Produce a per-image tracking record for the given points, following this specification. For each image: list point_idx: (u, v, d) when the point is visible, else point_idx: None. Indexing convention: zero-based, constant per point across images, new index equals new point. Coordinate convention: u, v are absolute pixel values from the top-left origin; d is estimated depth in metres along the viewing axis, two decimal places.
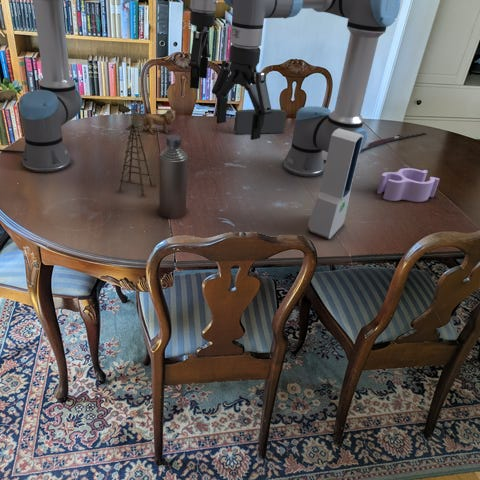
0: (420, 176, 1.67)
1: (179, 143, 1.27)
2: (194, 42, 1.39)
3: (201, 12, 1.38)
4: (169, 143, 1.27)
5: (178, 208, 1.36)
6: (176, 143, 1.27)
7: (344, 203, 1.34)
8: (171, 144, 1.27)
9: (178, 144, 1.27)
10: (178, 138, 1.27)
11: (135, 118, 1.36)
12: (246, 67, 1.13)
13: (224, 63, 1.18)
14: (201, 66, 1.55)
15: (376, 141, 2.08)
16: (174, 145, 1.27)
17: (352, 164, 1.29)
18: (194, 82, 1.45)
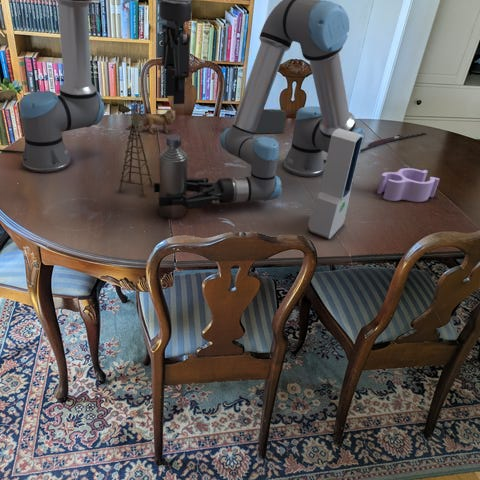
0: (420, 176, 1.67)
1: (179, 143, 1.27)
2: None
3: None
4: (169, 143, 1.27)
5: (178, 208, 1.36)
6: (176, 143, 1.27)
7: (344, 203, 1.34)
8: (171, 144, 1.27)
9: (178, 144, 1.27)
10: (178, 138, 1.27)
11: (135, 118, 1.36)
12: None
13: None
14: None
15: (376, 141, 2.08)
16: (174, 145, 1.27)
17: (352, 164, 1.29)
18: None
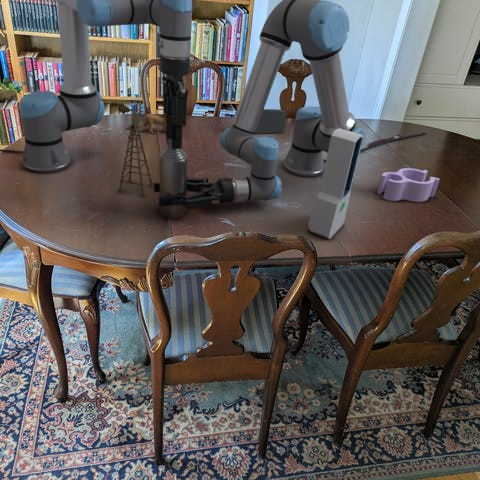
0: (420, 176, 1.67)
1: None
2: None
3: None
4: (169, 143, 1.27)
5: (178, 208, 1.36)
6: None
7: (344, 203, 1.34)
8: None
9: None
10: None
11: (135, 118, 1.36)
12: None
13: None
14: None
15: (376, 141, 2.08)
16: None
17: (352, 164, 1.29)
18: None
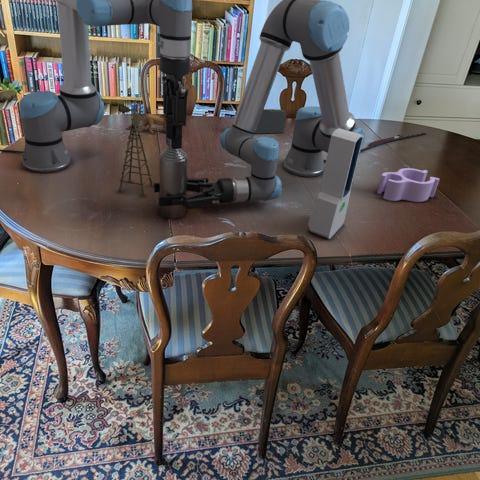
0: (420, 176, 1.67)
1: None
2: None
3: None
4: None
5: (178, 208, 1.36)
6: None
7: (344, 203, 1.34)
8: None
9: None
10: None
11: (135, 118, 1.36)
12: None
13: None
14: None
15: (376, 141, 2.08)
16: None
17: (352, 164, 1.29)
18: None
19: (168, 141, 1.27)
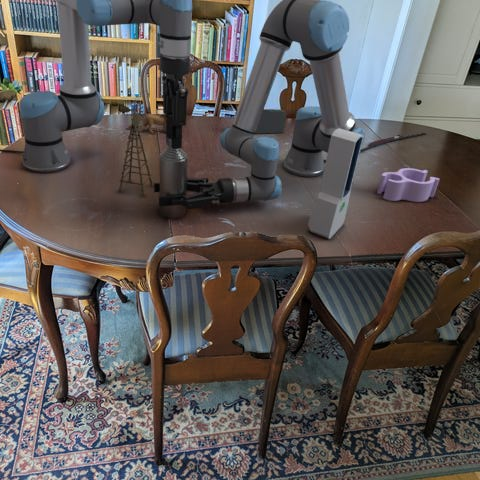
0: (420, 176, 1.67)
1: None
2: None
3: None
4: None
5: (178, 208, 1.36)
6: None
7: (344, 203, 1.34)
8: None
9: None
10: (169, 135, 1.28)
11: (135, 118, 1.36)
12: None
13: None
14: None
15: (376, 141, 2.08)
16: None
17: (352, 164, 1.29)
18: None
19: None
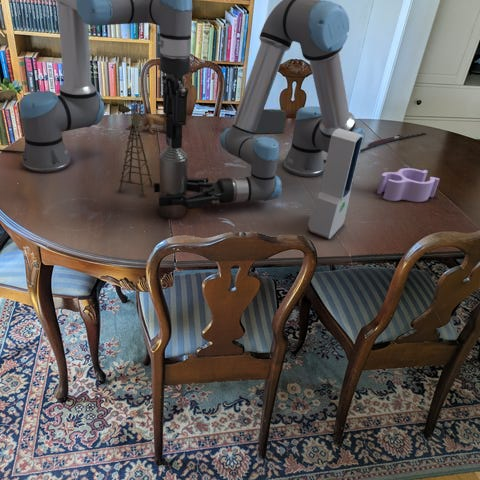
0: (420, 176, 1.67)
1: (168, 142, 1.27)
2: None
3: None
4: None
5: (178, 208, 1.36)
6: None
7: (344, 203, 1.34)
8: None
9: (167, 142, 1.27)
10: None
11: (135, 118, 1.36)
12: None
13: None
14: None
15: (376, 141, 2.08)
16: None
17: (352, 164, 1.29)
18: None
19: None
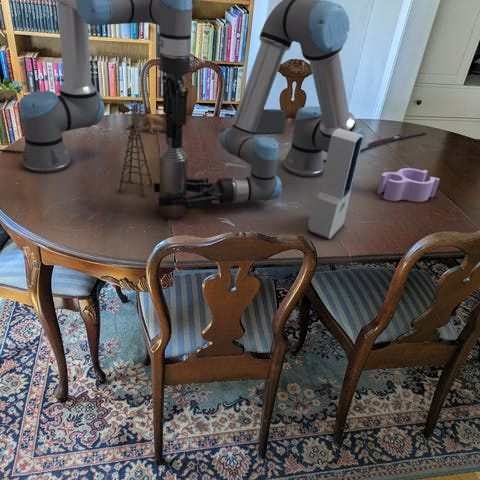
0: (420, 176, 1.67)
1: None
2: None
3: None
4: (168, 141, 1.27)
5: (178, 208, 1.36)
6: None
7: (344, 203, 1.34)
8: (169, 143, 1.27)
9: None
10: None
11: (135, 118, 1.36)
12: None
13: None
14: None
15: (376, 141, 2.08)
16: None
17: (352, 164, 1.29)
18: None
19: None
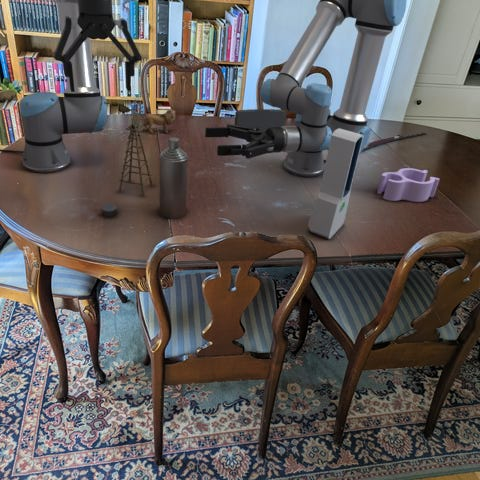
0: (420, 176, 1.67)
1: None
2: (63, 30, 1.07)
3: None
4: None
5: (178, 208, 1.36)
6: None
7: (344, 203, 1.34)
8: None
9: None
10: (106, 205, 1.35)
11: (135, 118, 1.36)
12: None
13: None
14: (126, 73, 1.17)
15: (376, 141, 2.08)
16: None
17: (352, 164, 1.29)
18: (70, 82, 1.13)
19: (111, 213, 1.34)
